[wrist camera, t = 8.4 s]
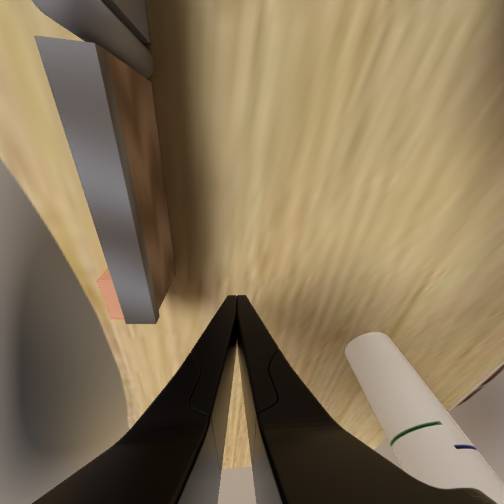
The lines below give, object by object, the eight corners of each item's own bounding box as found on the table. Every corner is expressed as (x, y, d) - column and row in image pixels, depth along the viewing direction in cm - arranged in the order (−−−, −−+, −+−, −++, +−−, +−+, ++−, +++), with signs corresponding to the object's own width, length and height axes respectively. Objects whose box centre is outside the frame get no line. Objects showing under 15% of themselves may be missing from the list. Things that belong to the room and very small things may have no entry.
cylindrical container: (376, 363, 33) (648, 793, 11) (337, 360, 32) (552, 829, 10) (399, 334, 30) (847, 861, 8) (356, 330, 29) (736, 924, 7)
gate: (122, 79, 14) (31, 28, 8) (155, 82, 14) (93, 35, 8) (157, 273, 21) (126, 323, 15) (178, 273, 21) (156, 323, 15)
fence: (124, -183, 10) (-133, -922, 3) (180, 275, 22) (155, 331, 16) (33, -203, 9) (-491, -1095, 3) (143, 274, 22) (102, 331, 15)
